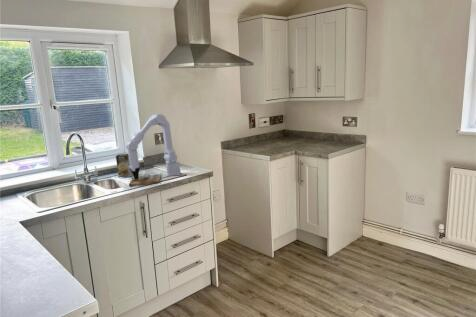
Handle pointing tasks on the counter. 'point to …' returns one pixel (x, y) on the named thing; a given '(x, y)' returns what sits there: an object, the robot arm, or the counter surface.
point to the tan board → (152, 180)
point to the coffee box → (123, 165)
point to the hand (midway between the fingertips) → (136, 179)
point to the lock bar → (141, 177)
